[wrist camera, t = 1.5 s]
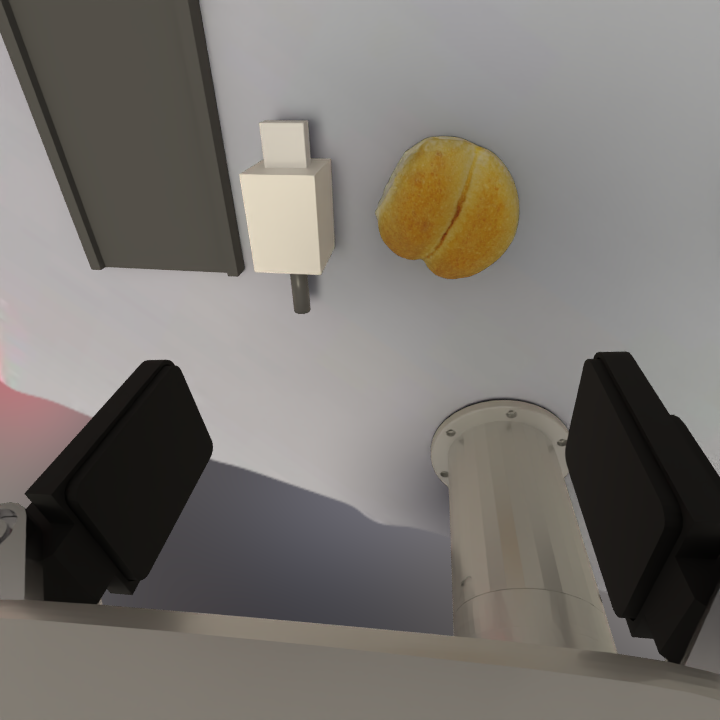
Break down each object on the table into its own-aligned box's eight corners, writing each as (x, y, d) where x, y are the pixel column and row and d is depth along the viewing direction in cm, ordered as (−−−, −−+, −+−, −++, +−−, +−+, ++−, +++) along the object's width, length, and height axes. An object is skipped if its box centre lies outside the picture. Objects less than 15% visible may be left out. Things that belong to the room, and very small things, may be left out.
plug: (337, 296, 34) (324, 328, 30) (283, 293, 35) (263, 325, 31) (329, 116, 27) (311, 127, 23) (261, 116, 28) (231, 127, 24)
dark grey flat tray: (244, 269, 34) (238, 276, 33) (102, 262, 35) (91, 269, 34) (182, -96, 23) (168, -104, 21) (-24, -84, 24) (-47, -91, 23)
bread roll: (471, 285, 32) (475, 311, 29) (364, 228, 31) (356, 249, 28) (546, 181, 28) (561, 198, 25) (423, 109, 26) (422, 117, 23)
